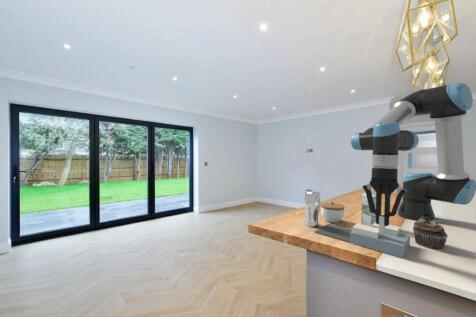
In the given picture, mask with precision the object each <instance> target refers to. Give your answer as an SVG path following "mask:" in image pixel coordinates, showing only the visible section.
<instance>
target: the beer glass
mask: <svg viewBox="0 0 476 317" xmlns="http://www.w3.org/2000/svg"><path fill="white" fill-rule="evenodd" d="M321 203H322V200H321V192H318V191H311V190H310V191H309V190H307V191H305V193H304V210H305V211H304V212H305V221H304V225H305V226H307V227H309V228H310V227H311V228H317V227H319V225H320V223H319V214H320V211H321Z"/></svg>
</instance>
